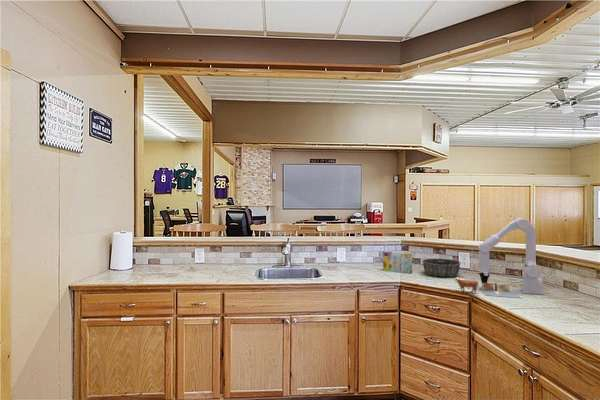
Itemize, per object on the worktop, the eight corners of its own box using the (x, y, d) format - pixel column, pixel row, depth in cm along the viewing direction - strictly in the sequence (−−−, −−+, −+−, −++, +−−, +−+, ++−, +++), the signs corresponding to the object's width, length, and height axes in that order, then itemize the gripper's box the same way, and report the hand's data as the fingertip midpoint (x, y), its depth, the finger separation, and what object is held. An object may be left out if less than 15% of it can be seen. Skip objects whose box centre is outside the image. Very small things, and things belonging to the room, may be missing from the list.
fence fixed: (508, 291, 214) (508, 283, 214) (509, 292, 213) (509, 284, 213) (494, 290, 217) (494, 282, 217) (495, 291, 216) (494, 283, 216)
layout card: (514, 291, 217) (514, 290, 217) (521, 298, 201) (521, 297, 201) (480, 289, 222) (480, 288, 222) (485, 295, 207) (485, 295, 207)
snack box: (412, 272, 274) (412, 252, 274) (410, 273, 269) (410, 253, 269) (385, 269, 285) (385, 250, 285) (382, 270, 280) (382, 251, 280)
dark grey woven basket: (461, 280, 247) (461, 265, 248) (421, 277, 257) (421, 263, 257) (460, 272, 272) (460, 259, 272) (423, 270, 282) (423, 257, 282)
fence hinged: (493, 290, 217) (493, 283, 217) (493, 290, 216) (493, 283, 216) (482, 289, 219) (482, 282, 219) (482, 289, 218) (482, 283, 218)
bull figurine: (455, 289, 222) (455, 276, 222) (479, 293, 213) (478, 279, 213) (452, 290, 218) (452, 277, 218) (477, 294, 210) (476, 280, 210)
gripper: (475, 260, 230) (475, 282, 230) (478, 264, 216) (478, 287, 216) (487, 261, 228) (487, 282, 228) (491, 265, 214) (492, 288, 214)
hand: (484, 285), depth 222 cm, fingers closed
